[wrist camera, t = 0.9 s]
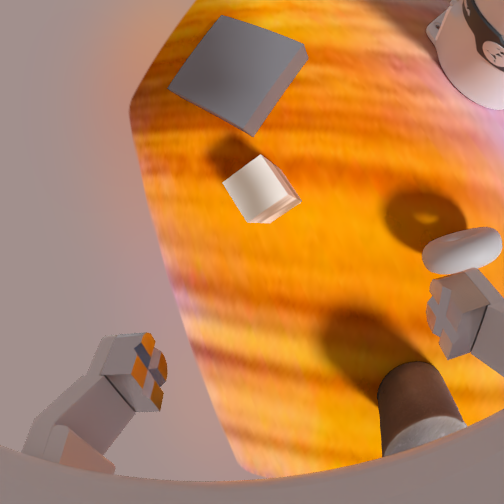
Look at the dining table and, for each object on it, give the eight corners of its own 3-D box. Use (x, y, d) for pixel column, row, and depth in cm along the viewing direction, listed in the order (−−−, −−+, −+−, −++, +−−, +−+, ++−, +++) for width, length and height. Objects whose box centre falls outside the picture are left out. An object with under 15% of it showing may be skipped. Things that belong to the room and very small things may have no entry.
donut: (417, 270, 35) (437, 284, 26) (411, 243, 35) (430, 249, 26) (484, 250, 32) (519, 257, 23) (478, 223, 32) (513, 222, 23)
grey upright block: (280, 169, 40) (260, 154, 31) (302, 201, 39) (287, 194, 31) (249, 191, 41) (222, 182, 33) (269, 223, 41) (247, 222, 32)
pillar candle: (363, 396, 38) (362, 468, 24) (413, 346, 36) (439, 406, 22) (407, 429, 36) (417, 500, 22) (455, 383, 34) (488, 447, 20)
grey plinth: (231, 28, 40) (221, 15, 36) (308, 58, 37) (303, 44, 33) (180, 97, 43) (167, 88, 39) (253, 137, 40) (243, 128, 36)
